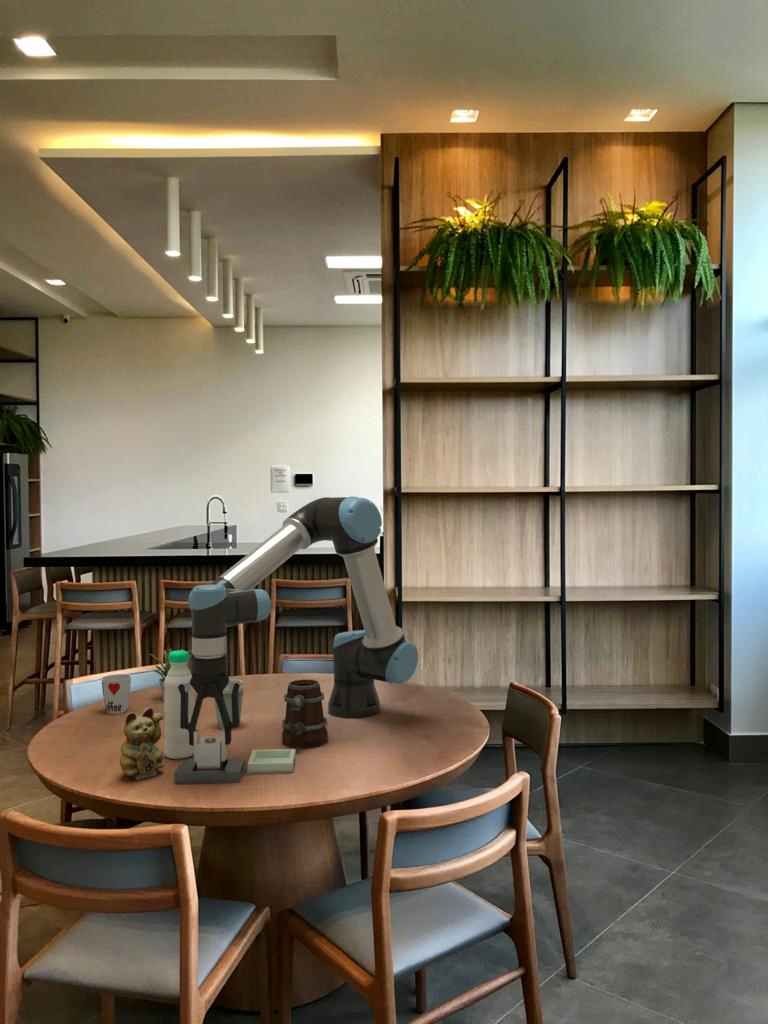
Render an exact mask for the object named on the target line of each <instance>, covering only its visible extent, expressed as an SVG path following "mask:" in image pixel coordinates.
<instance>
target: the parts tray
mask: <svg viewBox="0 0 768 1024" xmlns="http://www.w3.org/2000/svg"><path fill="white" fill-rule="evenodd" d="M295 761H296V748H286V749H285V748H284V749H282V748H281V749H275V748H274V749H252V751H251V753H250V757H249V759H248V761H247V765H246V767H247V768H246V769H247V773H246V774H248V775H250V774H251V775H253V774H257V775H258V774H292V773H293V771H294V766H295V763H296V762H295Z"/></svg>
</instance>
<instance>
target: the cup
mask: <svg viewBox="0 0 768 1024" xmlns="http://www.w3.org/2000/svg"><path fill="white" fill-rule="evenodd" d="M131 682H132V675H130V674H123V673H122V674H121V673H120V674H119V673H118V674H109V675H105V676H103V677H101V686H102V687H101V688H102V689H101V690H102V695H103V696H102V697H103V702H104V706H105V709H106V712H107V713H108V714H113V715H117V714H124V713H125V712H126V711H127V708H128V705H129V702H130V695H131V688H132V687H131V684H132V683H131Z"/></svg>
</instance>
